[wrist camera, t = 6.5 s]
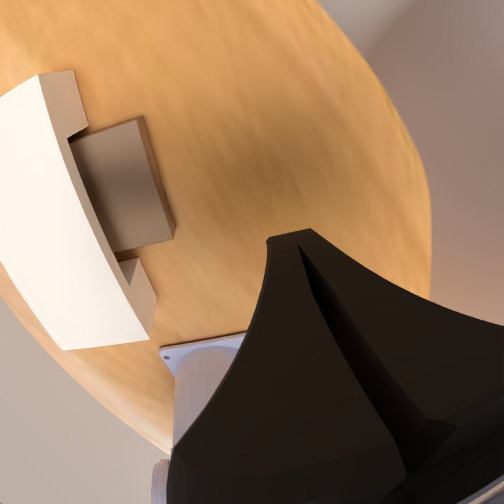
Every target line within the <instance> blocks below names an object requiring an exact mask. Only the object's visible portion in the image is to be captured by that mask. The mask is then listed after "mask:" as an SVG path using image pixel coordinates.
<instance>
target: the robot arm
mask: <svg viewBox="0 0 504 504" xmlns="http://www.w3.org/2000/svg"><path fill="white" fill-rule="evenodd" d="M266 244H267V262H266V269H265V274H264V279H263V284H262V288H261V292H260V295H259V299H258V302H257V306H256V309H255V312H254V314H253V317H252V320H251V323H250V325H249V327H248V330H247V332H246V333H241V334H236V335H231V336H226V337H221V338H215V339H210V340H204V341H198V342H192V343H186V344H180V345H174V346H168V347H162V348H160V349H159V355H160V356H161V358H162V360H163V361H164V363H165V364H166V366H167V367H168V369H169V370H170V372H171V373H172V375H173V376H174V378H175V394H174V421H173V448H171V460H170V464H169V460H168V459H161V460H160V462H159V463H157V464H156V465H155V466H154V468H153V474H152V488H151V491H152V492H151V503H152V504H468V503H470V502H471V501H473V500H475V499H476V498H478V497H480V496H481V495H483V494H484V493H486V492H487V491H489V490H490V489H492V488H494V487H495V486H497V485H498V484H499V483H501V482H502V481H504V326H502V325H497V324H493V323H490V322H486V321H483V320H480V319H477V318H474V317H471V316H467V315H464V314H462V313H459V312H456V311H453V310H450V309H448V308H445V307H443V306H441V305H438V304H436V303H433V302H431V301H428V300H426V299H424V298H422V297H419V296H417V295H415V294H413V293H411V292H409V291H407V290H405V289H403V288H401V287H399V286H397V285H395V284H393V283H391V282H390V281H388V280H386V279H384V278H382V277H381V276H379V275H377V274H376V273H374V272H372V271H371V270H369V269H367V268H366V267H364V266H363V265H361V264H360V263H358V262H357V261H355V260H354V259H352V258H351V257H349V256H348V255H346V254H345V253H344V252H342V251H341V250H339V249H338V248H337V247H335V246H334V245H332V244H331V243H330V242H328V241H327V240H326V239H324V238H323V237H322V236H320V235H319V234H318V233H316V232H315V231H314V230H312V229H311V228H309V229H304V230H300V231H295V232H291V233H286V234H281V235H277V236H272V237H269V238H268V239H267V241H266ZM0 504H1V503H0ZM479 504H504V486H503V487H502V488H500V489H498V490H497V491H495V492H494V493H492V494H491V495H489V496H488V497H486V498H485V499H484V500H483V501H481V502H480V503H479Z"/></svg>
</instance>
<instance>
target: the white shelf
mask: <svg viewBox="0 0 504 504" xmlns="http://www.w3.org/2000/svg"><path fill="white" fill-rule="evenodd" d="M88 126H89V125H88V121H87V118H86V115H85V112H84V108H83V105H82V101H81V98H80V94H79V90H78V87H77V83H76V79H75V75H74V71H73V70H71V71H61V72H52V73H44V74H37V75H36V76H34V77H32V78H30V79H29V80H27V81H25V82H24V83H22V84H20V85H19V86H17V87H16V88H14V89H12V90H11V91H9V92H8V93H6V94H5V95H3V96H2V97H0V261H1V262H2V264H3V266H4V268H5V269H6V271H7V273H8V274H9V276H10V278H11V279H12V281H13V282H14V284H15V286H16V287H17V289H18V290H19V292H20V293H21V295H22V297H23V298H24V300H25V301H26V303H27V304H28V305H29V307H30V308H31V310H32V311H33V313H34V314H35V316H36V317H37V318H38V320H39V321H40V322H41V324H42V325H43V327H44V328H45V329H46V331H47V332H48V333H49V335H50V336H51V337H52V338H53V340H54V341H55V342H56V344H57V345H58V346H59V347H60V349H61V350H62V351H63V350H73V349H82V348H91V347H99V346H107V345H115V344H122V343H129V342H136V341H143V340H150V337H151V330H152V324H153V318H154V312H155V307H156V301H157V296H156V294H155V292H154V290H153V288H152V286H151V283H150V281H149V279H148V277H147V275H146V273H145V270H144V268H143V266H142V264H141V262H140V259H139V258H135V259H131V260H126V261H122V262H118V263H117V261H116V258H115V256H114V254H113V252H112V250H111V248H110V246H109V244H108V241H107V239H106V237H105V235H104V233H103V230H102V228H101V226H100V224H99V221H98V219H97V217H96V214H95V212H94V210H93V207H92V205H91V202H90V200H89V197H88V195H87V192H86V190H85V187H84V185H83V182H82V180H81V177H80V174H79V172H78V169H77V166H76V163H75V161H74V158H73V155H72V152H71V149H70V146H69V143H68V140H67V138H68V137H70V136H71V135H73V134H75V133H77V132H79V131H80V130H82V129H84V128H86V127H88Z"/></svg>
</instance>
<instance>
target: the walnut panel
mask: <svg viewBox="0 0 504 504" xmlns="http://www.w3.org/2000/svg"><path fill="white" fill-rule="evenodd" d="M68 143H69V146H70V149H71V152H72V155H73V158H74V161H75V163H76V166H77V169H78V172H79V174H80V177H81V180H82V182H83V185H84V187H85V190H86V192H87V195H88V197H89V200H90V202H91V205H92V207H93V210H94V212H95V214H96V217H97V219H98V221H99V224H100V226H101V228H102V230H103V233H104V235H105V237H106V239H107V241H108V244H109V246H110V248H111V250H112V252H113V253H116V252H120V251H124V250H129V249H133V248H137V247H142V246H146V245H150V244H155V243H159V242H163V241H168V240H172V239H173V238H174V233H175V228H176V225H175V222H174V219H173V216H172V213H171V210H170V207H169V204H168V200H167V197H166V194H165V191H164V187H163V184H162V181H161V178H160V174H159V171H158V168H157V164H156V161H155V157H154V154H153V150H152V147H151V143H150V140H149V136H148V133H147V129H146V125H145V121H144V118H143V116H139V117H136V118H133V119H130V120H127V121H124V122H121V123H118V124H115V125H112V126H109V127H106V128H104V129H101V130H98V131H95V132H93V133H90V134H87V135H85V136H82V137H80V138H77V139H75V140H72V141H70V142H68Z"/></svg>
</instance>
